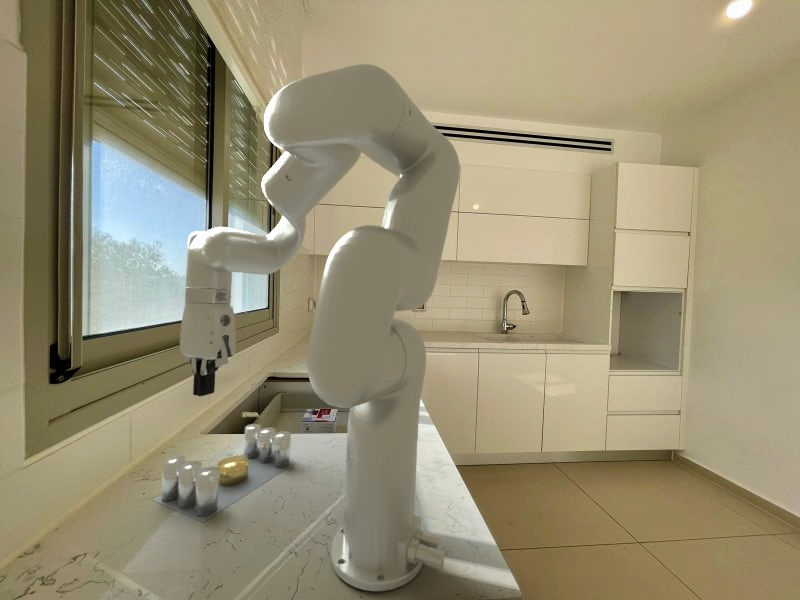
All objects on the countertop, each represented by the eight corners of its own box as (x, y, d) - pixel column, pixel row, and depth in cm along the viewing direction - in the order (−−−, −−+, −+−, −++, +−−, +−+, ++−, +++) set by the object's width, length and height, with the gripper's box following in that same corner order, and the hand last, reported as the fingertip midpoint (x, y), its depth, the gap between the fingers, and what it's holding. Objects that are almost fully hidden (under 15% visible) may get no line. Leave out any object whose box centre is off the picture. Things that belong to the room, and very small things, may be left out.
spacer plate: (296, 465, 66) (296, 462, 66) (203, 526, 48) (203, 522, 48) (252, 452, 71) (252, 449, 71) (151, 503, 53) (151, 499, 53)
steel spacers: (292, 462, 66) (294, 432, 66) (204, 519, 49) (205, 478, 49) (252, 451, 70) (253, 422, 70) (157, 498, 53) (158, 461, 53)
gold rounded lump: (253, 475, 61) (254, 459, 61) (230, 489, 56) (231, 472, 56) (234, 469, 63) (235, 453, 63) (210, 482, 58) (210, 465, 58)
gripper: (253, 300, 63) (248, 395, 63) (200, 296, 69) (196, 383, 69) (218, 299, 56) (213, 406, 56) (162, 295, 62) (158, 392, 62)
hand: (203, 393), depth 63 cm, fingers closed
